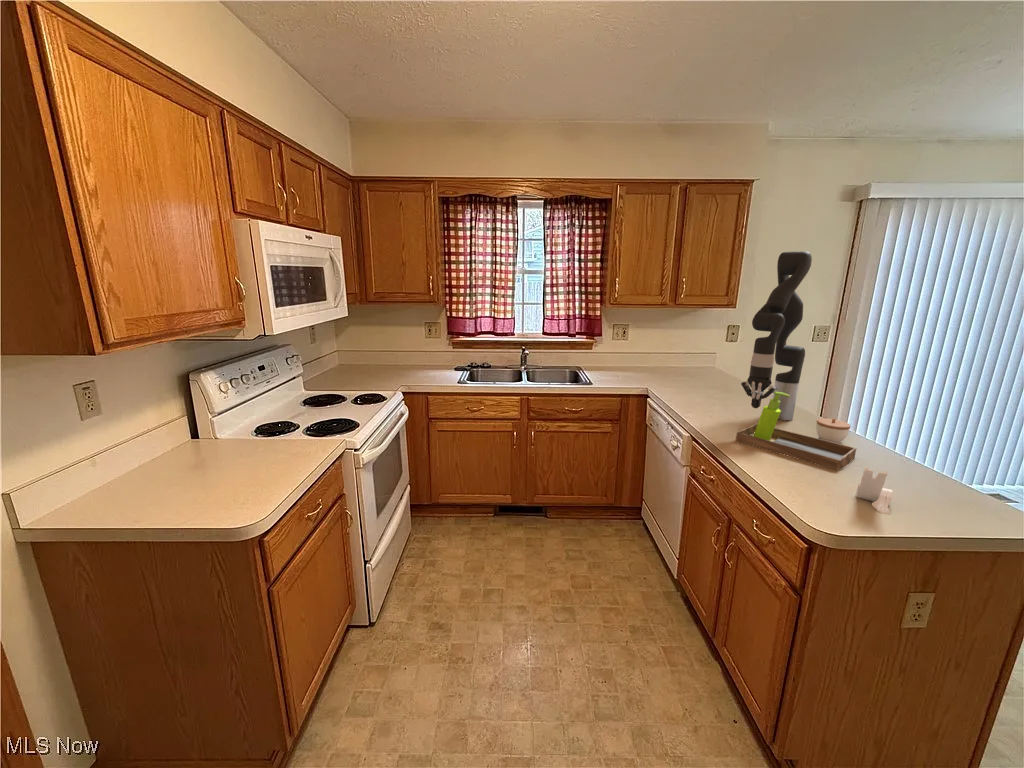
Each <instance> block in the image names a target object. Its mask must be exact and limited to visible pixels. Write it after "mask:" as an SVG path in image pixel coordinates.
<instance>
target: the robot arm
mask: <svg viewBox="0 0 1024 768" xmlns="http://www.w3.org/2000/svg"><path fill="white" fill-rule="evenodd" d="M812 261H813V259H812V253H811V252H810V251H806V250H805V251H804V250H802V251H801V250H800V251H784V252H781V253H780V254H779V256H778V258H777V266H776V269H777V284H778V285H777V286H776V287H775V288H773V290H772V291H771V292H770V294H769V296H768V298H767V301H766V302H765V304H764V305H763V306H762V307H761V308H760V309H759V310H758V311H757V312H756V313H755V314H754V316H753V318H752V321H751V325H752V328H753V329H754V330H755V331H757V332H759V331H760V332H768V333H769V332H770V333H769V335H768V336H762V337H756V338H755V340H754V346H753V350H752V351H753V353H752V356H751V361H750V368H749V373H748V374H749V376H748V378H747V379H746V380H745V381H742V382H741V383H740V384H741V387H742V388H743V390H744V392H745V394H746V395H747V396H748V397H751V403H750V405H751V407H752V408H753V409H759V408H760V407H761V403H762V400H763V399H766V398H768V397H770V396H771V394H772V398H771V399H773V398H774V396H775V394H774V391H777V392H783V393H786V394H788V395H789V396H790V397H786V396H783V395H780V397H779V401H780V405H779V407H778V409H780V410H781V413H780V415H779V418H778V419H780V420H779V421H785V420H789V421H792V419H794V413H795V408H796V403H797V398H798V391H799V385H800V379H801V375H802V370H803V366H804V362H805V357H806V349H805V348H804V347H803V346H795V345H788V344H787V341H788V338H789V337H790V335H791V334H792V333H793V331H795V330H796V329H797V327H798V326H799V325H800V324H801V322H802V321H803V317H804V302H803V300H802V298H801V297H800V296H799V294H798V293H797V292H796V290H797V288H798V287H799V286H800V285H801V283H802V282H803V280H804V279H805V277H806V276H807V274H808V273H809V271H810V269H811V268H812V267H811V266H812ZM774 362H775V364H776V365H777V366H782V367H790V368H791V370H789V371H785V372H779V373H777V374H776V375H775V380H774V384H772V380H771V379H772V375H773V368H774ZM766 390H767V391H766ZM765 391H766V392H765Z"/></svg>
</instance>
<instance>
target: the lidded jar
mask: <svg viewBox="0 0 1024 768" xmlns="http://www.w3.org/2000/svg"><path fill="white" fill-rule="evenodd" d="M815 425H816V426H815V431H816V434H817V437H818V439H822V440H826V441H830V442H834V443H838V444H840V443H841V442H843V441H844V440H846V439H847V437H848V435H849V432H850V429H851V424H850V423H849V422H846V421H843V420H840V419H837V418H836V417H835V418H834V417H832V418H827V417H826V418H824V417H823V418H818V419H817V420H816V424H815Z"/></svg>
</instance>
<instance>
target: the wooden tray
mask: <svg viewBox="0 0 1024 768" xmlns="http://www.w3.org/2000/svg"><path fill="white" fill-rule="evenodd" d="M757 424H758V423H754V424H752V425H751V426H748V427H746V428H743V429H742V430H739V431H737V432H736V435H735V441H736V442H738V441H739V442H740V443H741V442H743V443H742V444H745V443H746V444H745V445H748V444H750V446H752V445H754V446H753V447H755V446H757V447H756V448H759V447H760V449H762V448H763V450H766V449H767V450H766V451H769V450H771V451H770V452H773V451H774V453H776V452H777V454H780V453H781V454H780V455H783V454H785V455H784V456H787V455H788V456H787V457H790V456H791V457H790V458H794V457H795V459H797V458H798V460H801V461H804V460H805V462H808V463H811V462H812V464H815V463H816V465H818V464H819V466H822V467H825V466H826V468H828V467H829V469H833V470H835V469H836V471H840V470H841V469H842V468H843V467H845V466H846V465H847V464H848V463H849V462H851V461H852V460H853V459H854V458H855V456H856V453H857V448H856V447H854V446H850V445H849V446H848V445H845V444H841V443H839V444H838V443H834V442H830V441H826V440H822V439H820V438H817V437H812V436H808V435H804V434H801V433H796V432H792V431H789V430H785V429H781V428H777V427H775V428H774V431H773V433H772V436H771V437H773V436H775V437H774V438H777V437H779V438H777V439H775V440H773V441H772V440H770V441H768V440H765V439H761V438H757V437H754V436H753V434H754V432H755V430H756V427H757ZM752 433H753V434H752ZM750 434H751V435H750ZM851 459H852V460H851ZM850 460H851V461H850ZM845 464H846V465H845Z"/></svg>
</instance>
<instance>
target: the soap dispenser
mask: <svg viewBox="0 0 1024 768" xmlns="http://www.w3.org/2000/svg"><path fill="white" fill-rule="evenodd" d="M774 394H775V396H774V398H773V399H772V398H770V401H769V403H768V405H764V406H763V408H762V411H761V414H760V417H759V420H758V422H757V423H756V424H757V427H756V430H755V433H753V434H752V436H754V437H757V438H761V439H765V440H768V441H771V438H772V437H773V436H772V433H773V431H774V428H776V425H777V423H778V421H779V420H778V418H779V415H780V413H781V410H780V409H778V407H779V405H780V401H779V397H780V395H783V396H786V397H790V396H789V395H788V394H786V393H783V392H777V391H774Z"/></svg>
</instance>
